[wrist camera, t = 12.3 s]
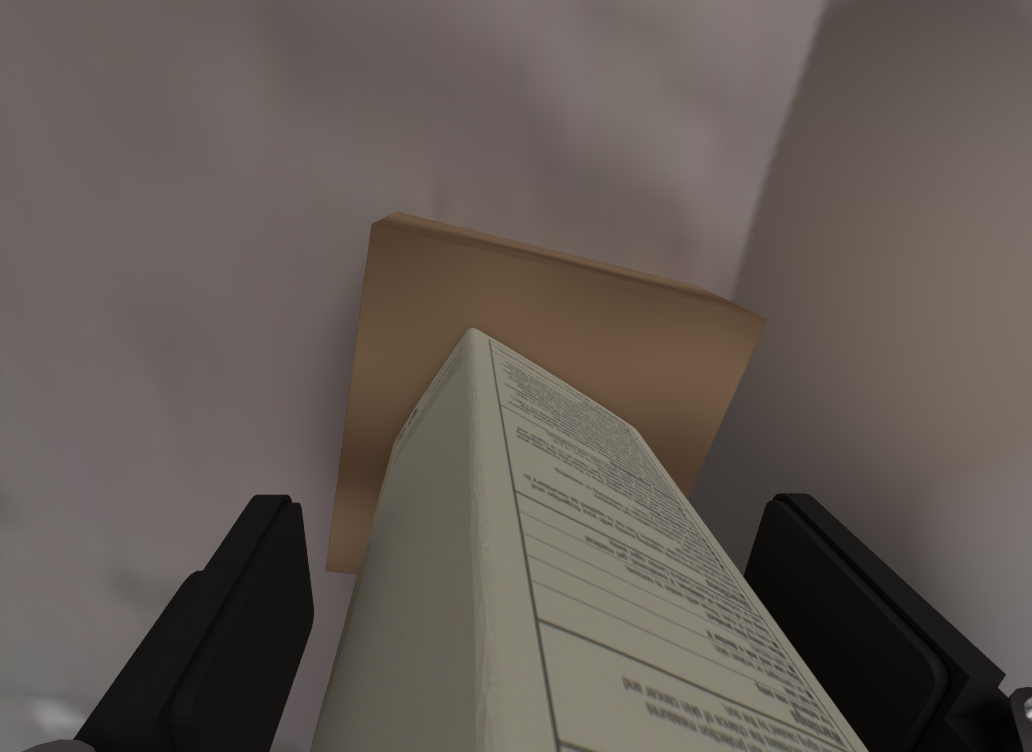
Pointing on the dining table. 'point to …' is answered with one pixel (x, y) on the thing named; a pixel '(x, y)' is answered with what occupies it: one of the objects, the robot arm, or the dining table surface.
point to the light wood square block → (530, 348)
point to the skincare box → (553, 592)
